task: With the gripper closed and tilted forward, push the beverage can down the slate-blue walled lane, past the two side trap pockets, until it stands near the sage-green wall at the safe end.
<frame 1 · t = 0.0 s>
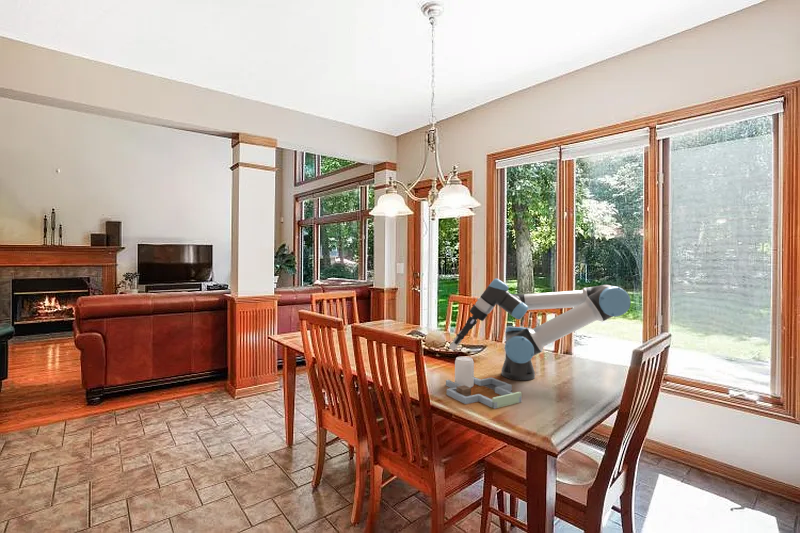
hand: (453, 345, 180), 15 cm above the table, tool tilted 35°, fingers open, 13 cm apart
walnut cube: (463, 397, 156), resting on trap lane
end wall: (507, 405, 148), on the table
beverage can: (464, 386, 170), on the table
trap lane: (481, 393, 161), on the table
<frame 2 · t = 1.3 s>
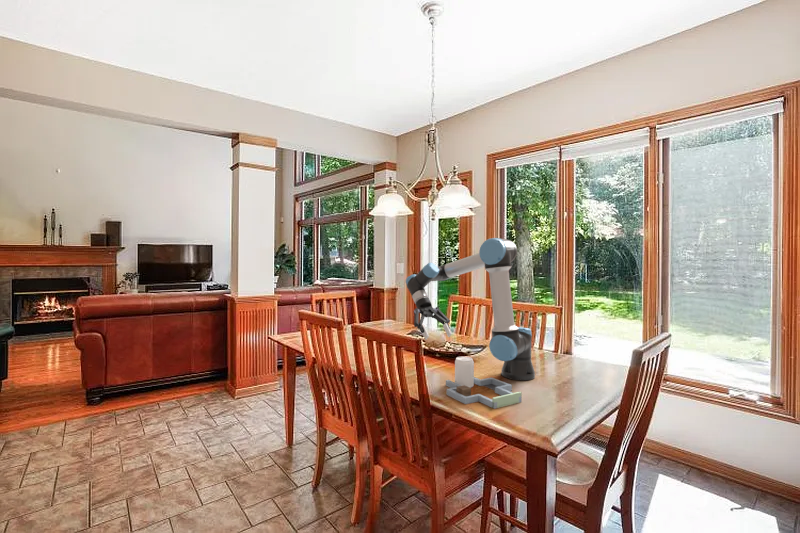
hand: (438, 336, 187), 18 cm above the table, tool tilted 45°, fingers open, 12 cm apart
nothing on the table moved.
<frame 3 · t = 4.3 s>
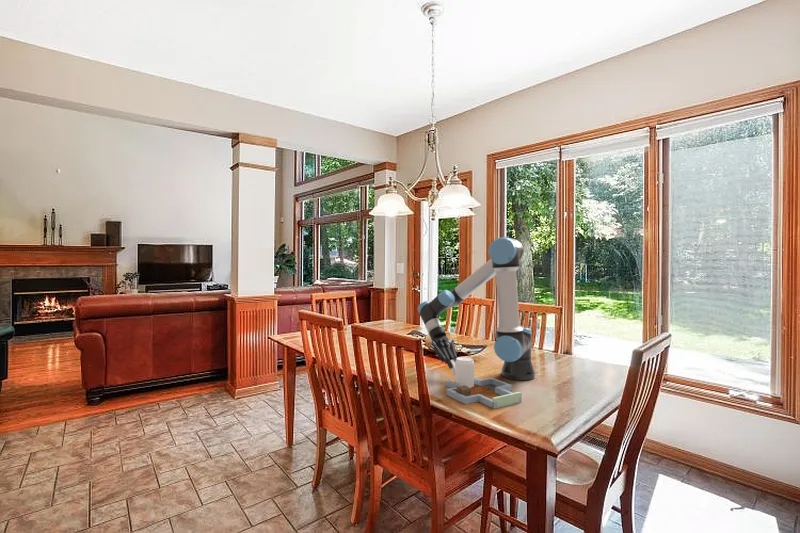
hand: (456, 373, 175), 4 cm above the table, tool tilted 45°, fingers closed
beverage can: (464, 386, 170), on the table, touching gripper
everything else where it was.
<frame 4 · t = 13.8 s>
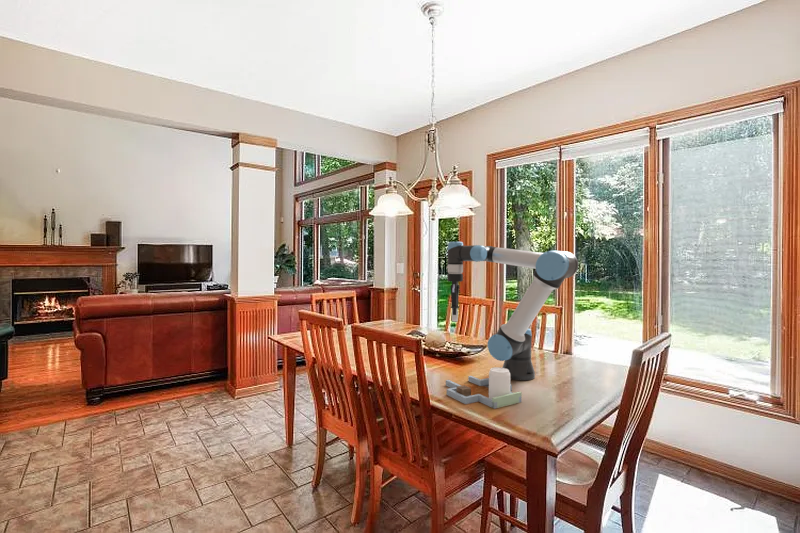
hand: (454, 321, 193), 24 cm above the table, tool pointing down, fingers closed
beverage can: (499, 400, 154), on the table
everything else where it was.
at the end: beverage can 5.7 cm from the end wall (horizontally); beverage can moved 20.0 cm from its start; beverage can tilted 0° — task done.
